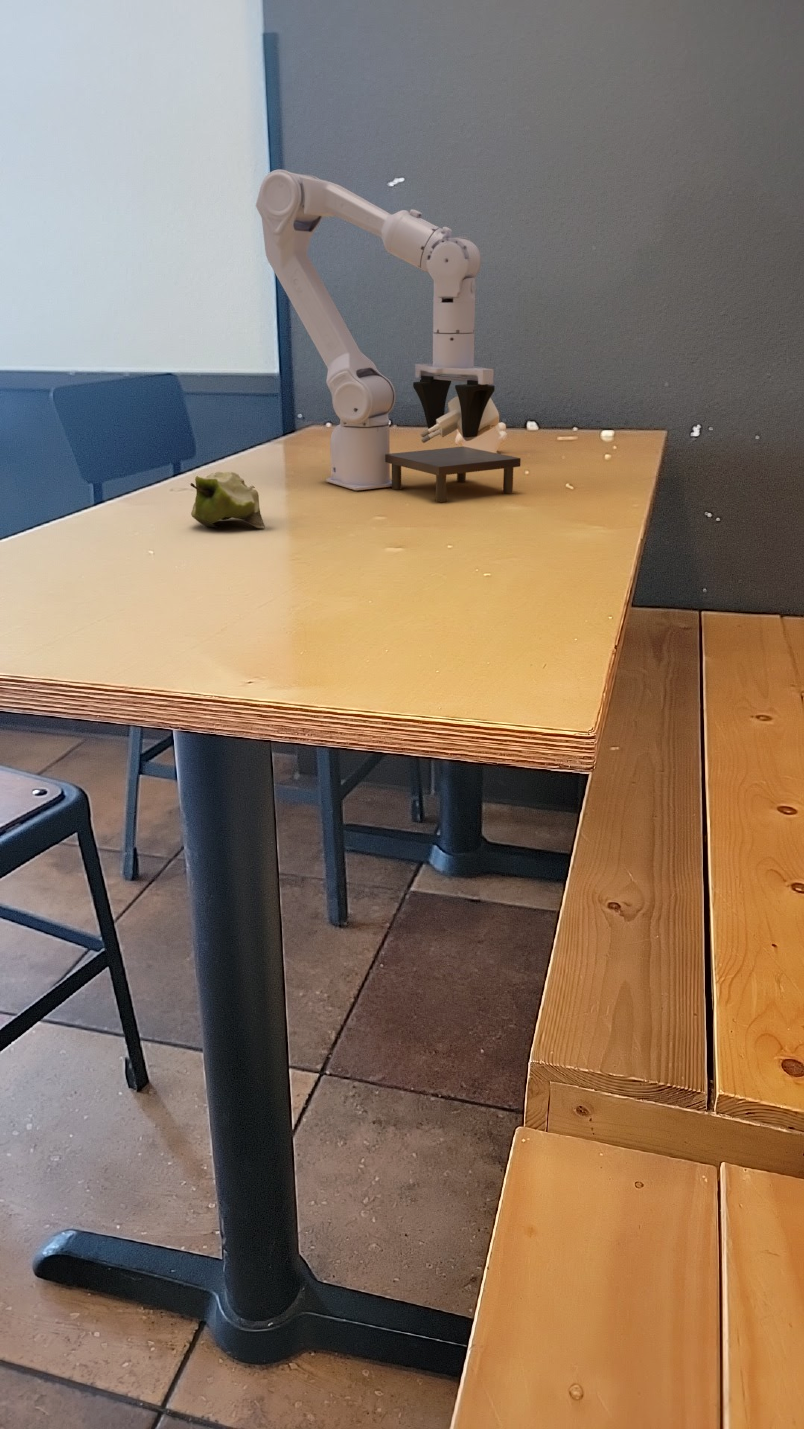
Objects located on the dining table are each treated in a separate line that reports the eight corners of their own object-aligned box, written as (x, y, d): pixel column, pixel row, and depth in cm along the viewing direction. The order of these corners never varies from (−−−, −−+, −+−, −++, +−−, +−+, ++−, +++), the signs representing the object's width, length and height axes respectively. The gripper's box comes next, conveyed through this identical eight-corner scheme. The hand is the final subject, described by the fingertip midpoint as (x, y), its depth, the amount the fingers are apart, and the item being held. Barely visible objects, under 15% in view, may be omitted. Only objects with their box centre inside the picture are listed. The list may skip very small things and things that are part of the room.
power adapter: (432, 453, 149) (412, 418, 150) (433, 463, 154) (413, 429, 154) (502, 414, 149) (481, 379, 149) (501, 425, 154) (481, 391, 154)
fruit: (210, 547, 128) (191, 481, 125) (191, 538, 136) (172, 476, 133) (281, 525, 131) (263, 460, 128) (257, 517, 139) (241, 456, 136)
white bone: (506, 465, 176) (508, 414, 173) (454, 464, 177) (455, 414, 174) (505, 451, 190) (506, 404, 187) (456, 451, 191) (457, 404, 188)
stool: (385, 488, 157) (385, 454, 155) (463, 479, 164) (463, 446, 162) (438, 503, 146) (438, 466, 144) (519, 493, 153) (520, 458, 151)
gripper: (398, 332, 149) (398, 431, 155) (466, 335, 139) (464, 442, 144) (436, 330, 154) (436, 427, 159) (506, 334, 143) (502, 437, 148)
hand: (452, 434), depth 152 cm, fingers closed on power adapter, 7 cm apart
